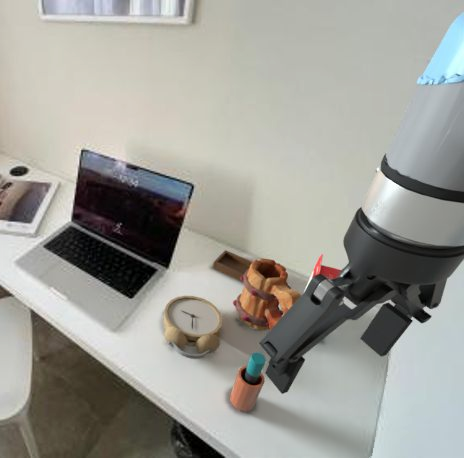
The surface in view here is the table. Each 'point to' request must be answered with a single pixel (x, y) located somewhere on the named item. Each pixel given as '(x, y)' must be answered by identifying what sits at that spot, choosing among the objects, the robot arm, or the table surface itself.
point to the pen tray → (232, 265)
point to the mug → (264, 295)
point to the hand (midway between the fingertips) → (325, 364)
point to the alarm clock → (192, 325)
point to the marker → (254, 368)
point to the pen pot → (245, 391)
